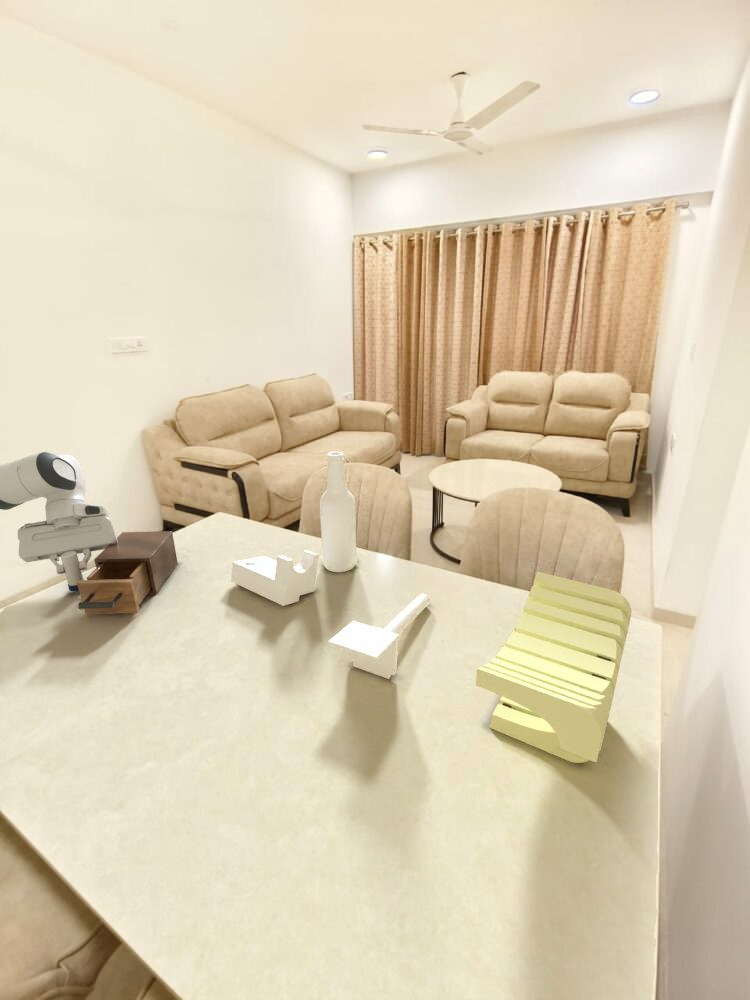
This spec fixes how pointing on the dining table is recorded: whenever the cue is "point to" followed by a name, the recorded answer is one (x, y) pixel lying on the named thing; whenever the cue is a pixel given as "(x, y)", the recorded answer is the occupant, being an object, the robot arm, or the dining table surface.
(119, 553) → the cabinet
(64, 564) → the tube
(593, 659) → the slatted curved stool
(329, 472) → the alcohol
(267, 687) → the dining table surface
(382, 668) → the white block on rod
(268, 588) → the white cradle stand
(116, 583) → the drawer
